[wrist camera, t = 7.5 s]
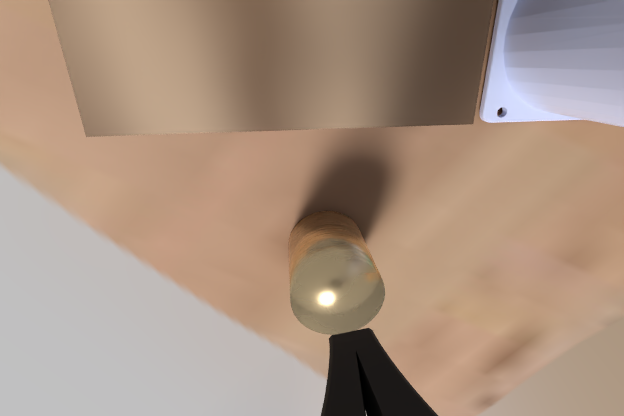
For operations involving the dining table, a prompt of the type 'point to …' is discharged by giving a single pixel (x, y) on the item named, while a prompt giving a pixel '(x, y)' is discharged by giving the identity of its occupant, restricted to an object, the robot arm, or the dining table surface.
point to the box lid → (271, 63)
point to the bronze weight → (332, 275)
